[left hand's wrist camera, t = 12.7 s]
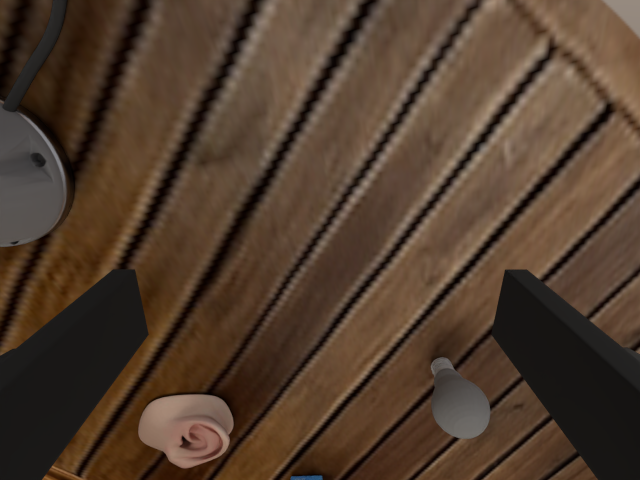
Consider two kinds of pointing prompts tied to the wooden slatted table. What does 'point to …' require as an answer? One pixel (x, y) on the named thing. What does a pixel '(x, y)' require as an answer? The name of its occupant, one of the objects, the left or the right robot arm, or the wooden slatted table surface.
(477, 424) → the light bulb
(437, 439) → the wooden slatted table surface
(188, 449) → the anatomical model
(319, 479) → the ink box
